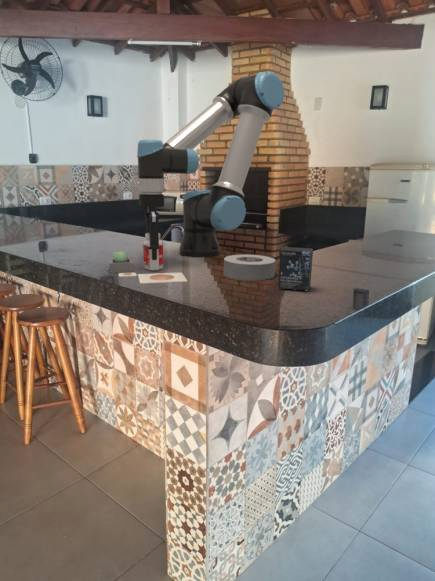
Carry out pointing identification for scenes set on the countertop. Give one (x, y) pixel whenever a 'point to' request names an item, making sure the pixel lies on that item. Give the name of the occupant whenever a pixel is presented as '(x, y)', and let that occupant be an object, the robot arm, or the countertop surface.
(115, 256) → the button cap
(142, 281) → the sheet
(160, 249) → the pill bottle
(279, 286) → the box
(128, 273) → the card
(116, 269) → the button base
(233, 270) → the tape roll
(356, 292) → the countertop surface
